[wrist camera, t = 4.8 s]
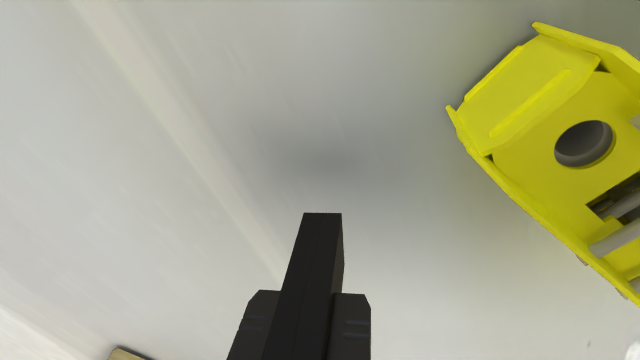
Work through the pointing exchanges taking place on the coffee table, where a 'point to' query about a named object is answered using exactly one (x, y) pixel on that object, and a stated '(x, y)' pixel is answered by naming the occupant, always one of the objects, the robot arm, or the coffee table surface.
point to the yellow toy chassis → (565, 144)
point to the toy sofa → (122, 355)
